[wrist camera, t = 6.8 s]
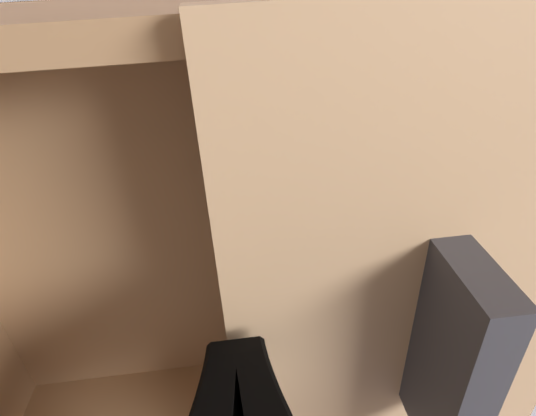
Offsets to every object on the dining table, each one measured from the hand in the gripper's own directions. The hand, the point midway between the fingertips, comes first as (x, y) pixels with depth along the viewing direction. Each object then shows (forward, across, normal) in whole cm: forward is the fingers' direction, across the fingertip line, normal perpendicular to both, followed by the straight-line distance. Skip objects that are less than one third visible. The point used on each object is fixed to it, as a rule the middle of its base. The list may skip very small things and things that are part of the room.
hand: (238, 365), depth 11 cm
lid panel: (+1, -5, 0) cm, 5 cm away
